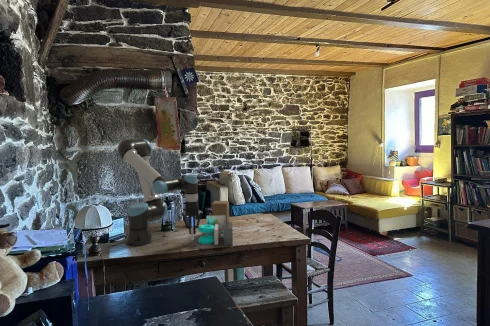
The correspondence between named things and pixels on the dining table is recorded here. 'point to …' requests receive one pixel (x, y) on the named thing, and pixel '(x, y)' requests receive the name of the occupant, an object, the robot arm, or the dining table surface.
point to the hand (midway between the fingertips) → (192, 239)
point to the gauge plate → (216, 233)
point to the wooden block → (221, 208)
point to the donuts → (207, 238)
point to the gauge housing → (222, 228)
